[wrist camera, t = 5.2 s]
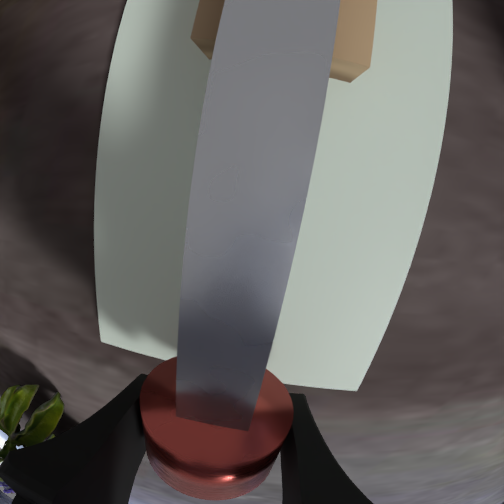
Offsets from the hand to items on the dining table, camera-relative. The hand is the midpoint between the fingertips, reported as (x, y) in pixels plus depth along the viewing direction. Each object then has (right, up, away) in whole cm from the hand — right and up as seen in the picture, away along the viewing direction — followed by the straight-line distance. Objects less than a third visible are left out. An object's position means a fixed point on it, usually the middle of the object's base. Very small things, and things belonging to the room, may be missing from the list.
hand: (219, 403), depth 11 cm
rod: (+2, +8, -2) cm, 9 cm away
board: (+2, +13, -1) cm, 13 cm away
